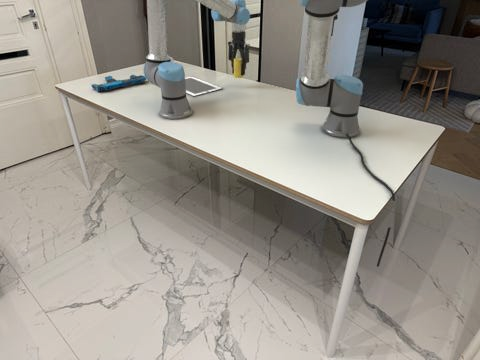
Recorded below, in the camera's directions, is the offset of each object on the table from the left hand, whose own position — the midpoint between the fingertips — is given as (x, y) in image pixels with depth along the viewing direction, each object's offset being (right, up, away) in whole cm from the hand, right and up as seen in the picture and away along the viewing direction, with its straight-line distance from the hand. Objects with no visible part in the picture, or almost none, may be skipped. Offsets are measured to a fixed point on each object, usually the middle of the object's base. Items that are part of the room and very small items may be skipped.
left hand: (238, 73), depth 197 cm
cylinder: (0, -1, +1) cm, 2 cm away
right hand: (+41, +8, -36) cm, 55 cm away
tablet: (-27, -6, +6) cm, 29 cm away
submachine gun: (-72, -3, +11) cm, 73 cm away
